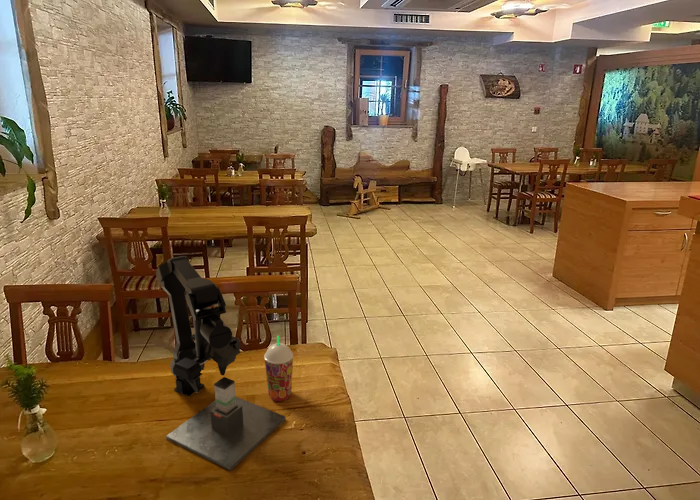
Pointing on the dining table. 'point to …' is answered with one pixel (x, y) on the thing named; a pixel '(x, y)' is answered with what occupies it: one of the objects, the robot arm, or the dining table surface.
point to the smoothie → (279, 371)
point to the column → (225, 396)
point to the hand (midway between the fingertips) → (210, 383)
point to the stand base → (226, 432)
